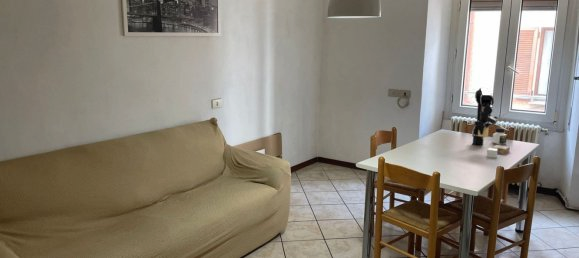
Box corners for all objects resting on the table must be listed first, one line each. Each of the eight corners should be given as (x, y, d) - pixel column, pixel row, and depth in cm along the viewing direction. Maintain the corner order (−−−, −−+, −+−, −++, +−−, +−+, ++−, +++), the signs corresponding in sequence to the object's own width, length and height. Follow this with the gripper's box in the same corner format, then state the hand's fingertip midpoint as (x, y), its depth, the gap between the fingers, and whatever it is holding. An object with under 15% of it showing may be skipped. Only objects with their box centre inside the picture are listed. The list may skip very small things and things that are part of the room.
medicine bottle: (499, 144, 347) (500, 129, 344) (491, 142, 353) (493, 127, 351) (506, 143, 350) (507, 128, 347) (498, 141, 356) (500, 126, 354)
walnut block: (491, 152, 325) (492, 147, 324) (495, 150, 331) (496, 144, 330) (505, 154, 319) (506, 149, 318) (509, 152, 326) (509, 146, 325)
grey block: (486, 156, 313) (487, 149, 312) (487, 154, 318) (488, 147, 317) (496, 157, 310) (496, 150, 309) (496, 155, 315) (497, 148, 314)
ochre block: (477, 135, 324) (478, 127, 322) (480, 134, 327) (481, 126, 326) (485, 137, 320) (485, 128, 319) (487, 135, 324) (488, 127, 322)
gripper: (491, 115, 308) (489, 138, 311) (502, 112, 321) (500, 133, 324) (475, 113, 316) (473, 135, 319) (486, 110, 329) (484, 131, 332)
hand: (483, 134), depth 323 cm, fingers closed on ochre block, 5 cm apart
